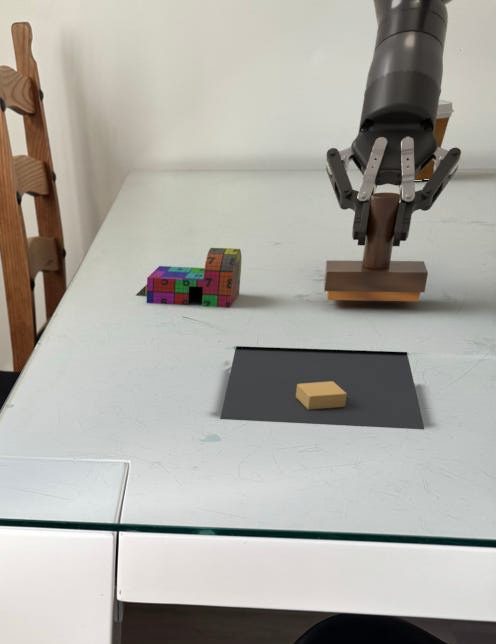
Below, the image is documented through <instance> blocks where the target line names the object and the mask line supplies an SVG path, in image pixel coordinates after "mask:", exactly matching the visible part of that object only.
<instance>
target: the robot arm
mask: <svg viewBox="0 0 496 644" xmlns="http://www.w3.org/2000/svg"><path fill="white" fill-rule="evenodd" d="M452 1H453V0H373V7H374V12H375V19H376V24H377V31H376V35H375V41H374V42H375V43H374V48H373V56H372V60H371V63H370V65H369V69H368V73H367V78H366V83H365V84H366V85H365V90H364V93H363V101H362V110H361V114H360V121H359V126H358V127H359V128H358V132H357V136H356V138H354V140H352V143H351V145H350V147H348V148H345V149H342V150H338V149H337V148H336V147H331V148H329V149H328V150H327V151H326V162H325V171H326V173H327V176H328V179H329V182H330V184H331V187H332V189H333V193H334V195H335V197H336V200H337V203H338V206H339V208H340V209H341V210H343V211H344V210H348V209H350V210H352V211H353V212H354V216H353V217H354V218H353V223H352V229H351V230H352V232H351V233H352V234H351V237H352V240H353V241H357V246H362V247H363V246H365V239H366V233H367V225H368V218H369V211H370V203H371V195H372V194H375V193H377V188H378V186H385V185H392V186H398V194H400V201H399V206H398V212H397V219H396V226H395V232H394V239H393V247H400V245H401V242H406V241H407V239H408V238H409V234H410V229H411V228H410V227H411V222H412V221H411V220H412V215H413V213H414V212H416V211H419V210H421V211H423V212H426V211H429V210H430V209H431V208H432V207H433V205H434V204H435V202H436V201H437V199H438V198H439V196H440V195H441V194H442V192H443V191H444V190H445V188H446V187H447V185H448V184H449V182H450V181H451V180H452V178H453V176H455V174H456V172H457V171H458V168H459V164H460V159H461V154H462V150H461V149H460V148H459V147H452V148H450V149H449V150H447V149H444V148H443V147H441V148H440V147H437V146H438V143H437V140H436V138H435V136H434V131H435V124H436V117H437V110H438V103H439V100H440V96H441V93H442V83H443V82H442V81H443V76H444V75H443V73H444V51H445V45H446V44H445V43H446V36H447V31H448V23H449V15H448V14H449V13H448V8H447V6H446V5H448V4H450V3H451V2H452ZM432 160H433V161H434V162H435V163H434V172H433V174H432V176H431V177H430V179H429V180H428V181H426V183H425V184H424V186H423V188H422V189H420V190H417V191H416V185H415V183H416V182H414V180H415V176H416V175H417V174H418V173H419V172H420V171H421V170H422V169H423V168H425V167H426V166H427V165H428V164H429V163H430V162H431V161H432ZM351 162H353V163H354V164H355V166H356V167H357V169H358V171H360V174H361V175H362V176H363V177H362V182H361V184H360V187H359V190H356V189H354V188H353V186H352V183H351V180H350V178H349V175H348V171H349V167H350V163H351Z"/></svg>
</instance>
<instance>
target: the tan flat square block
mask: <svg viewBox="0 0 496 644" xmlns="http://www.w3.org/2000/svg"><path fill="white" fill-rule="evenodd" d="M346 396H347V393H346V392H344V391H343V390H342V389H341V388H340V387H339V386H338V385H337V384H336V383H334V382H333V381H329V382H316V383H303V384H297V390H296V398H297V399H298V400H299V401H300V402H301V403H302V404H303V405H304V406H305V407H306V408H307V409H308V410H310V409H323V408H336V407H345V403H346Z"/></svg>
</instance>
